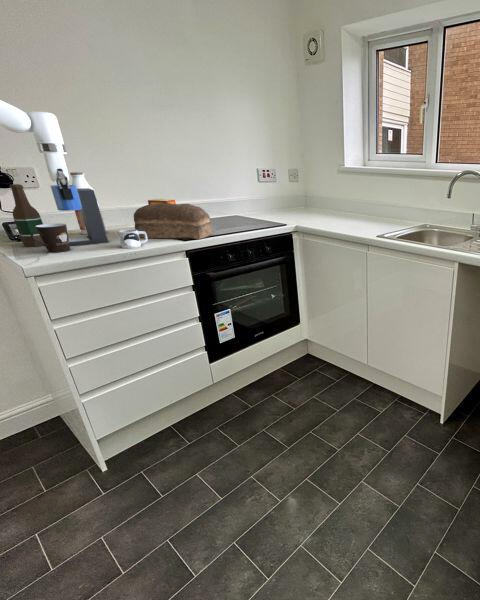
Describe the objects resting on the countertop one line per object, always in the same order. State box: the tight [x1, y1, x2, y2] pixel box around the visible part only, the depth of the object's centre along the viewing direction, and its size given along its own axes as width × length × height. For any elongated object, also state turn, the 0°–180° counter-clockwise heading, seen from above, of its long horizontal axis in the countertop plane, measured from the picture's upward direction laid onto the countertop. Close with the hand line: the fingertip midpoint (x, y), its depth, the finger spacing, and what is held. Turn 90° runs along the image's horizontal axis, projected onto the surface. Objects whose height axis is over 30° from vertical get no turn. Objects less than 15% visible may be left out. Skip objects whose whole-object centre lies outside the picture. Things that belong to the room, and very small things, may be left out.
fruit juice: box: [69, 171, 107, 236], centre depth 165 cm, size 9×9×28 cm
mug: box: [117, 228, 149, 249], centre depth 148 cm, size 10×7×7 cm
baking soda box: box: [147, 198, 177, 205], centre depth 179 cm, size 10×6×16 cm
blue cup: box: [50, 184, 82, 212], centre depth 136 cm, size 7×7×9 cm
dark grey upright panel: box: [68, 188, 109, 247], centre depth 148 cm, size 16×12×22 cm
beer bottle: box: [9, 183, 46, 248], centre depth 141 cm, size 8×8×24 cm
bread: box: [133, 203, 214, 240], centre depth 167 cm, size 15×32×16 cm, turn 93°
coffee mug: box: [31, 222, 71, 254], centre depth 135 cm, size 12×9×10 cm
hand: (66, 198), depth 136 cm, fingers closed on blue cup, 7 cm apart
